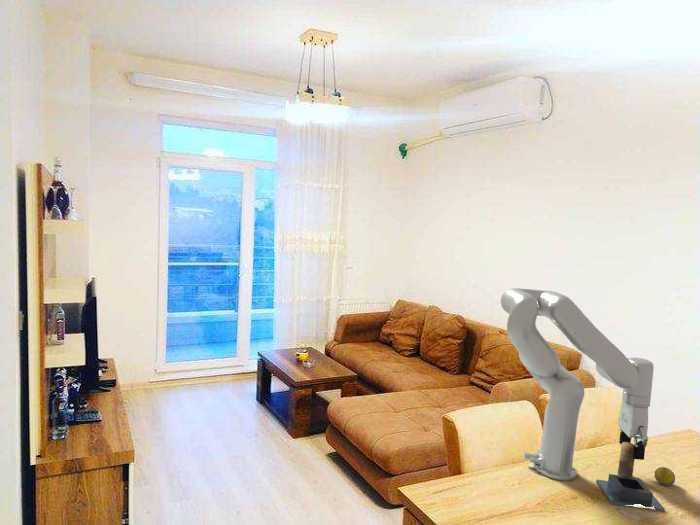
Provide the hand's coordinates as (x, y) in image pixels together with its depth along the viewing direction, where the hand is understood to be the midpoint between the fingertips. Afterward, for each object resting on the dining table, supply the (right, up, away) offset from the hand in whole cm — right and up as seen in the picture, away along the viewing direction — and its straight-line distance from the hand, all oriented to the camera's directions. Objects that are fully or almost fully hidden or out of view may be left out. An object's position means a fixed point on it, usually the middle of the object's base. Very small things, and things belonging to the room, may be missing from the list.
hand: (631, 451), depth 158 cm
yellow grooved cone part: (+8, -9, -3) cm, 13 cm away
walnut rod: (-2, -8, +1) cm, 8 cm away
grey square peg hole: (-7, -9, -12) cm, 16 cm away
